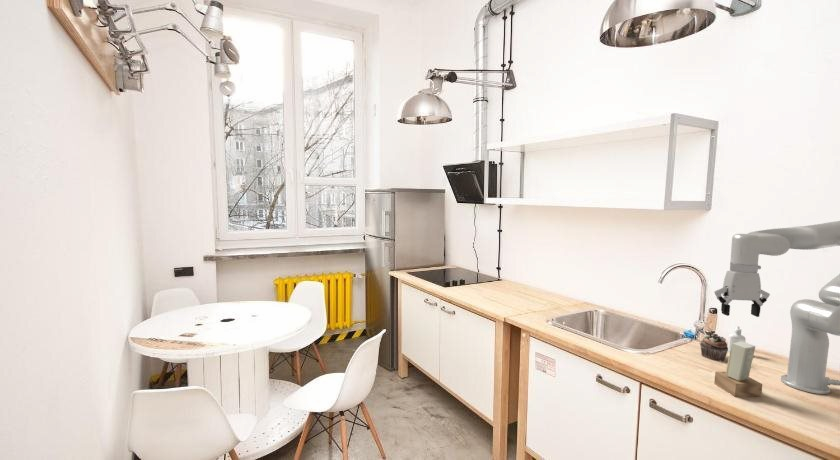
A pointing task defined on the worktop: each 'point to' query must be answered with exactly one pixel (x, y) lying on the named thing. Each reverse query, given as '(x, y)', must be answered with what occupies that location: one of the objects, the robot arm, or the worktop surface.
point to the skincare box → (740, 360)
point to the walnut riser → (738, 386)
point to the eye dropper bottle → (735, 337)
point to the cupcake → (714, 347)
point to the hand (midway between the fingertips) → (740, 315)
